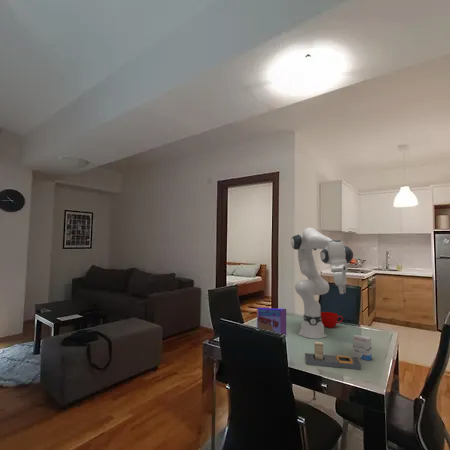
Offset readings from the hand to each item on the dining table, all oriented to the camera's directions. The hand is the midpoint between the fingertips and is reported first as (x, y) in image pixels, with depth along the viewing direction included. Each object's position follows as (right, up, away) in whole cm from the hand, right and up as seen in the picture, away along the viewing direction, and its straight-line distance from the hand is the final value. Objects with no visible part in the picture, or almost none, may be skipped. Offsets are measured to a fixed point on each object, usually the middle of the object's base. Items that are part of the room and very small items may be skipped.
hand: (343, 293), depth 163 cm
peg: (-14, -36, -4) cm, 39 cm away
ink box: (+13, -37, +4) cm, 40 cm away
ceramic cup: (+18, -42, +68) cm, 82 cm away
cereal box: (-37, -38, +16) cm, 55 cm away
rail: (-8, -36, -5) cm, 37 cm away
